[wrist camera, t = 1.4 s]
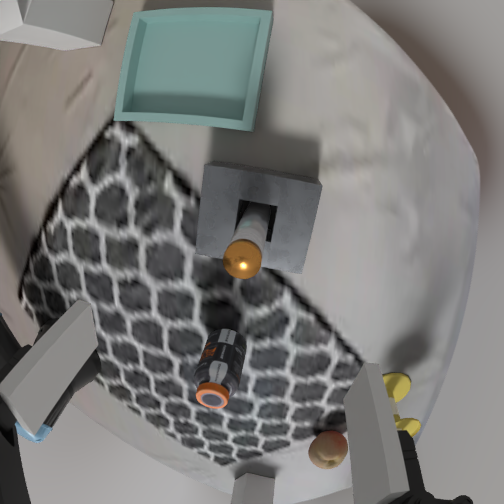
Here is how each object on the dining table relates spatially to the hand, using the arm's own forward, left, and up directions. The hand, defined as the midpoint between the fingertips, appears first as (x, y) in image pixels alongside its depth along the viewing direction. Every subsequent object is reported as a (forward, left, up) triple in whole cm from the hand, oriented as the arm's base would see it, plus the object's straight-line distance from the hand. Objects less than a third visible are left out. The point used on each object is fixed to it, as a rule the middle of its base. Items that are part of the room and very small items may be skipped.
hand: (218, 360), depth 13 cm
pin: (0, 0, -24) cm, 24 cm away
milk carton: (-28, +24, -24) cm, 44 cm away
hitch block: (0, 0, -24) cm, 24 cm away
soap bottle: (+11, -73, -24) cm, 78 cm away
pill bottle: (-2, -20, -24) cm, 31 cm away
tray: (-10, +16, -24) cm, 31 cm away
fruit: (+22, -42, -24) cm, 53 cm away
